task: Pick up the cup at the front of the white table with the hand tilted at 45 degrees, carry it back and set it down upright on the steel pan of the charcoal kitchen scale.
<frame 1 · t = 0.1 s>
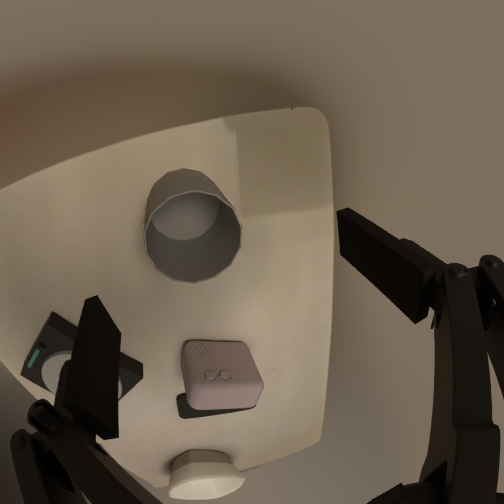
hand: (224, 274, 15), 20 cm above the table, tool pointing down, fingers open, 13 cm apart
bowl: (198, 458, 60), on the table
scale: (79, 364, 38), on the table
electronic device: (213, 347, 44), on the table
phone: (217, 400, 50), on the table
cup: (183, 204, 33), on the table
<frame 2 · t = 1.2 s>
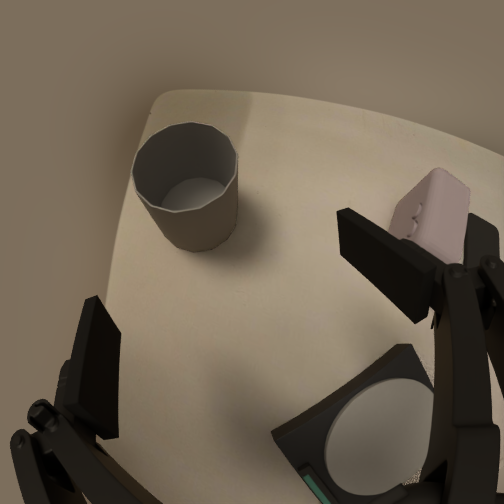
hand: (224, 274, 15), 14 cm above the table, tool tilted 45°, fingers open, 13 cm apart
scale: (367, 436, 25), on the table
electronic device: (398, 243, 32), on the table
phone: (479, 270, 31), on the table
cup: (198, 214, 31), on the table
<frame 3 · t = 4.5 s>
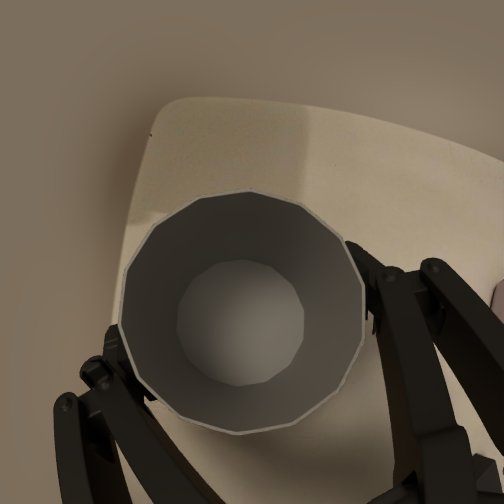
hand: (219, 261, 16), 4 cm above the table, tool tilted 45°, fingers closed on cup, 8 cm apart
electronic device: (492, 335, 19), on the table
cup: (240, 323, 19), on the table, touching gripper
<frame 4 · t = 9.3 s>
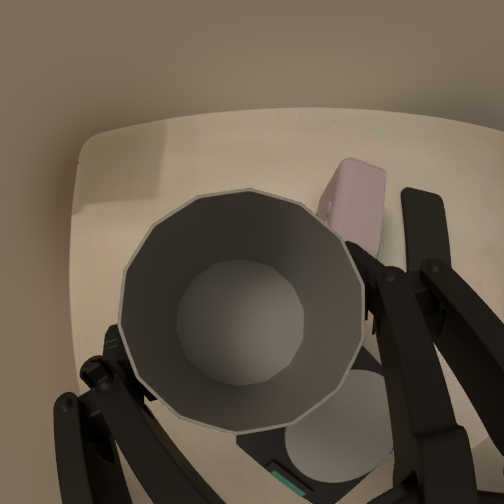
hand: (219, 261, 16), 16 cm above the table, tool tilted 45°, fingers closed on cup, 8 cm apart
scale: (332, 426, 28), on the table
electronic device: (328, 237, 34), on the table
phone: (425, 243, 35), on the table
cup: (240, 322, 19), point 12 cm above the table, touching gripper
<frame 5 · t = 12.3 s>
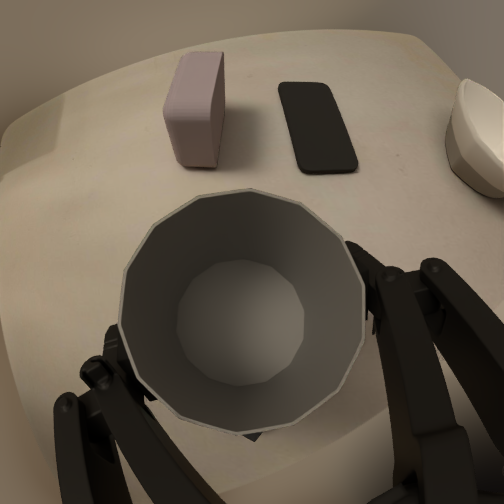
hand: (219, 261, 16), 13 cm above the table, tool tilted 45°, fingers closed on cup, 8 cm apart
bowl: (472, 161, 36), on the table
electronic device: (201, 137, 33), on the table
phone: (314, 124, 35), on the table
cup: (240, 323, 19), point 9 cm above the table, touching gripper
when the fingers open (8 cm above the table, at t = 14.2 s): cup stays where it is, resting on scale.
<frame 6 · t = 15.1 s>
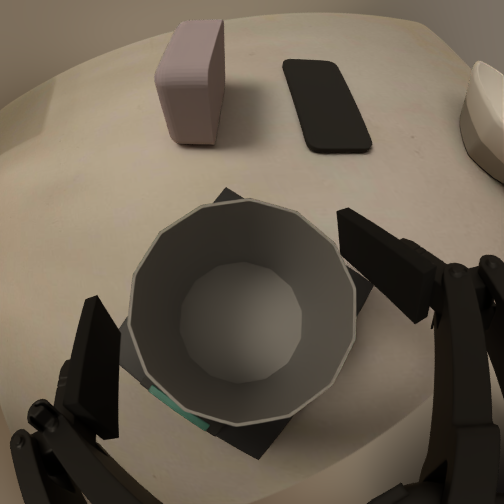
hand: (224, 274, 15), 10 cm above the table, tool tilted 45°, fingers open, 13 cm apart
bowl: (487, 148, 31), on the table
scale: (240, 324, 23), on the table
electronic device: (198, 114, 29), on the table
phone: (323, 102, 31), on the table
cup: (240, 323, 20), point 4 cm above the table, touching scale
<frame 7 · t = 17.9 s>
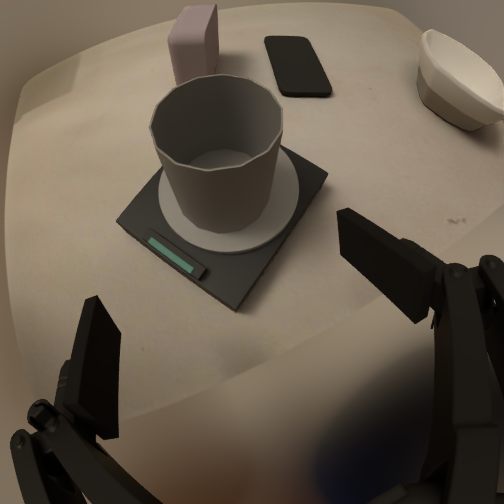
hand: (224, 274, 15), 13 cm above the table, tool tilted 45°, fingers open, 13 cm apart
bowl: (444, 101, 38), on the table
scale: (224, 207, 30), on the table
electronic device: (198, 74, 36), on the table
phone: (295, 64, 37), on the table
cup: (223, 190, 27), point 4 cm above the table, touching scale
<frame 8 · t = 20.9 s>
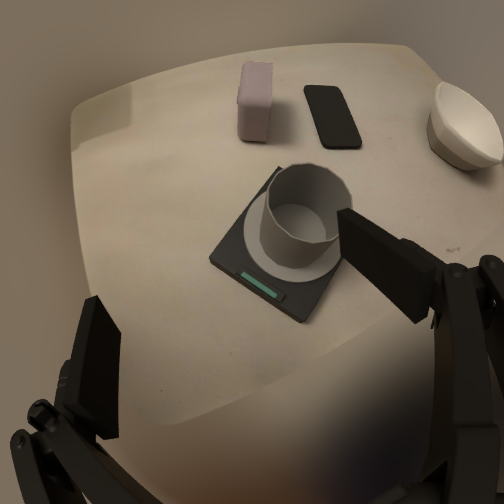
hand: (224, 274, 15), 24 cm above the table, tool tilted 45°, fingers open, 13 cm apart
bowl: (449, 144, 49), on the table
scale: (287, 244, 40), on the table
electronic device: (252, 121, 46), on the table
phone: (331, 116, 48), on the table
cup: (292, 236, 37), point 4 cm above the table, touching scale
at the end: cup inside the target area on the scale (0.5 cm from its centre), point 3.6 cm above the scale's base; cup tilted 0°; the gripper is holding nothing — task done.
